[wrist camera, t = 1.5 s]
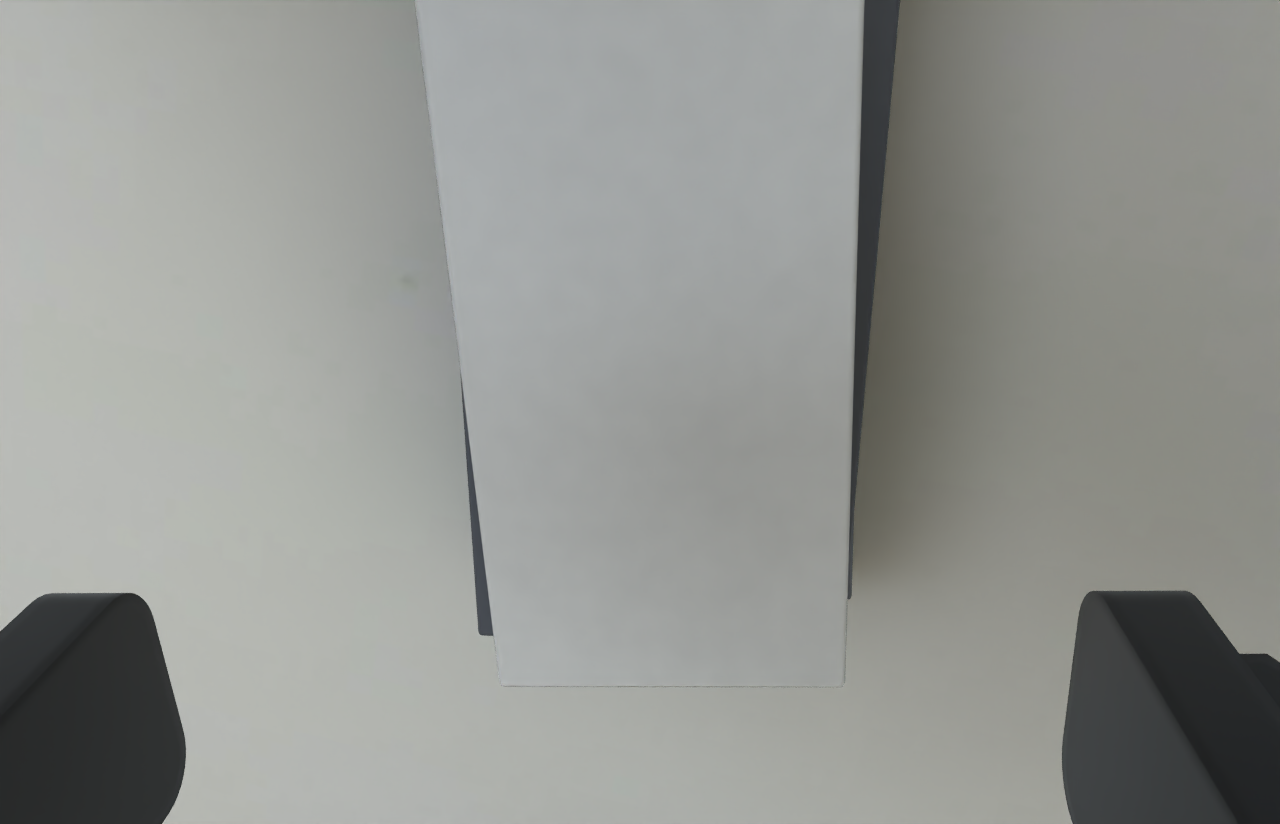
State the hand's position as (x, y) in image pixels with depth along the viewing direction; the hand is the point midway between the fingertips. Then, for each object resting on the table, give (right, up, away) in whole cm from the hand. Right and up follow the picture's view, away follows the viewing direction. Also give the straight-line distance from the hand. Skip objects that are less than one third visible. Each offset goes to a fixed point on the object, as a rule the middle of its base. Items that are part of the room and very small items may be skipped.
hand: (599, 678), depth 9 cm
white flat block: (+1, +4, +9) cm, 10 cm away
